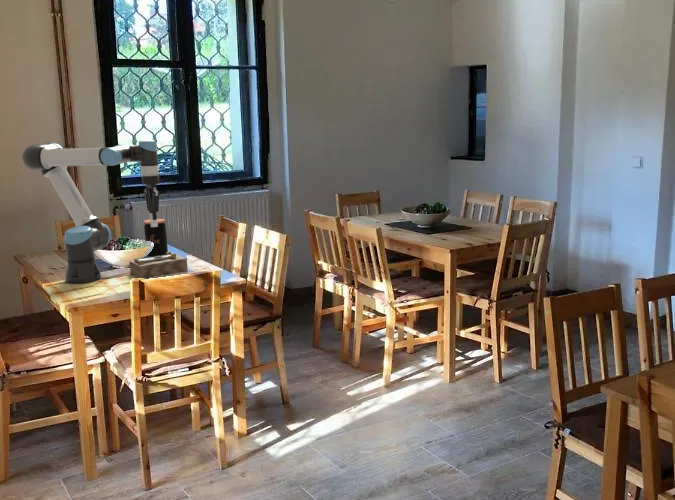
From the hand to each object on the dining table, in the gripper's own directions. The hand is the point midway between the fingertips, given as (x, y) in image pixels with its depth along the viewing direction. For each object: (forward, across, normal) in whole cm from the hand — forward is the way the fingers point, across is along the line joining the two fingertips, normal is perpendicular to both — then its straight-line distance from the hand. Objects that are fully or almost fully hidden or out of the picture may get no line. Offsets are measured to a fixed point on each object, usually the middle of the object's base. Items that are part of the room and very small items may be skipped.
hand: (154, 226), depth 324 cm
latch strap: (+15, 0, +1) cm, 15 cm away
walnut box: (+22, 0, 0) cm, 22 cm away
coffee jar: (+22, +37, -14) cm, 45 cm away
